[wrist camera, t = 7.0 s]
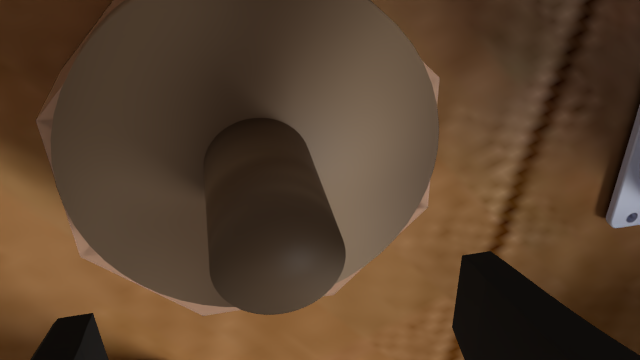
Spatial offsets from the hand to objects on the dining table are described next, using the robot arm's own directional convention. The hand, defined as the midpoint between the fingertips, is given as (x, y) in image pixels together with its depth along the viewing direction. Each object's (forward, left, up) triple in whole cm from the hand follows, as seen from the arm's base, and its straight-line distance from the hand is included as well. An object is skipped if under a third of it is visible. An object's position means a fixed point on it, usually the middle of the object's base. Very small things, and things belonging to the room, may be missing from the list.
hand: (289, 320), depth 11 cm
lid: (0, -1, -6) cm, 6 cm away
